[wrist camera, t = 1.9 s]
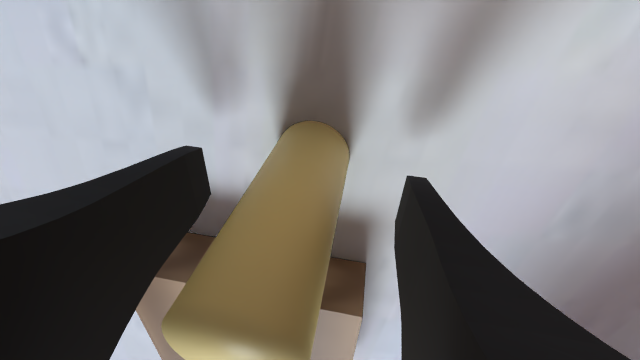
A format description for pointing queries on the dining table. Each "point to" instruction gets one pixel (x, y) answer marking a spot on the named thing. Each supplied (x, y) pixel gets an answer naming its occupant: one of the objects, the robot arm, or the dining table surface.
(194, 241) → the socket
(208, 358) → the dowel
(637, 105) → the dining table surface
